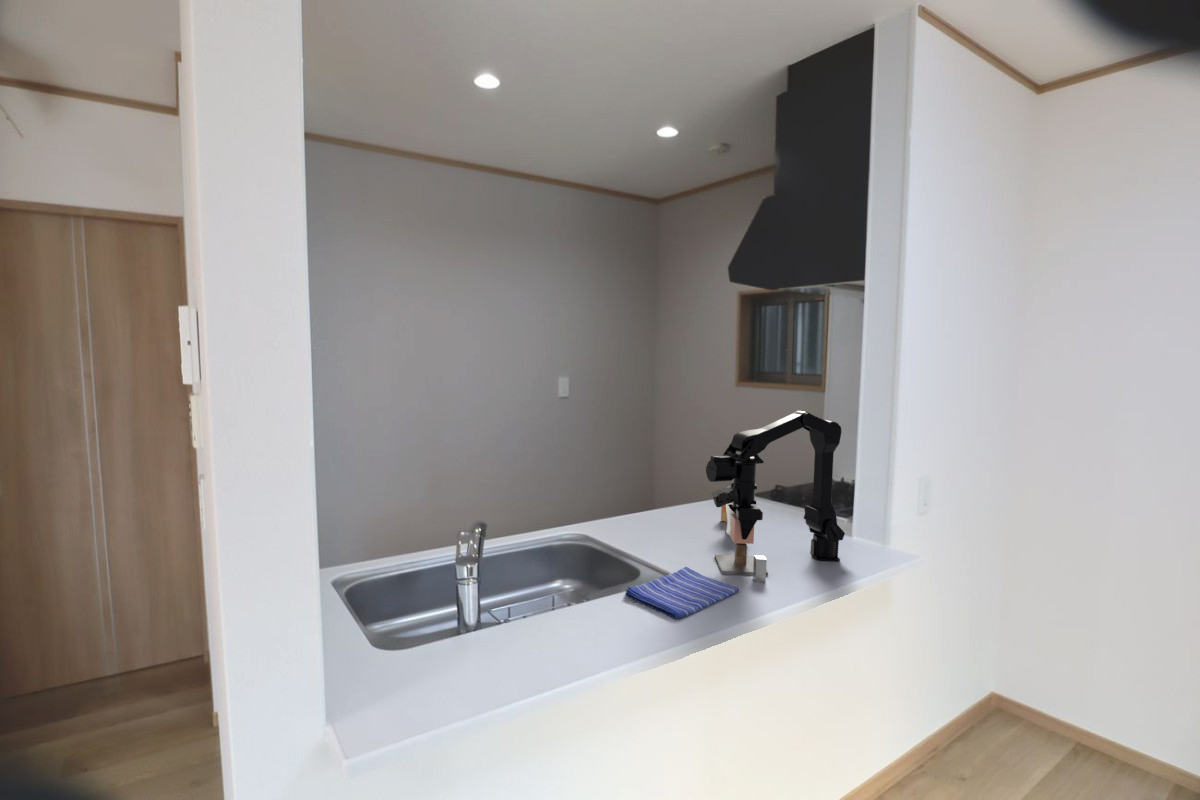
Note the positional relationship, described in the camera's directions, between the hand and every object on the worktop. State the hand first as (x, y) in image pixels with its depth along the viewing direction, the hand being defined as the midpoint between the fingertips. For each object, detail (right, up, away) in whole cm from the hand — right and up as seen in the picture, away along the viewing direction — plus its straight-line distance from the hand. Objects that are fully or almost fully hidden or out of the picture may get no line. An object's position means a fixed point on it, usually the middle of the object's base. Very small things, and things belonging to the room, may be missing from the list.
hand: (742, 535), depth 160 cm
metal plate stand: (0, -9, +1) cm, 9 cm away
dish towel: (-19, -11, -18) cm, 28 cm away
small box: (+7, -5, +39) cm, 40 cm away
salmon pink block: (0, -1, 0) cm, 1 cm away
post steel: (+2, -9, -8) cm, 13 cm away
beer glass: (+5, -6, +28) cm, 29 cm away
